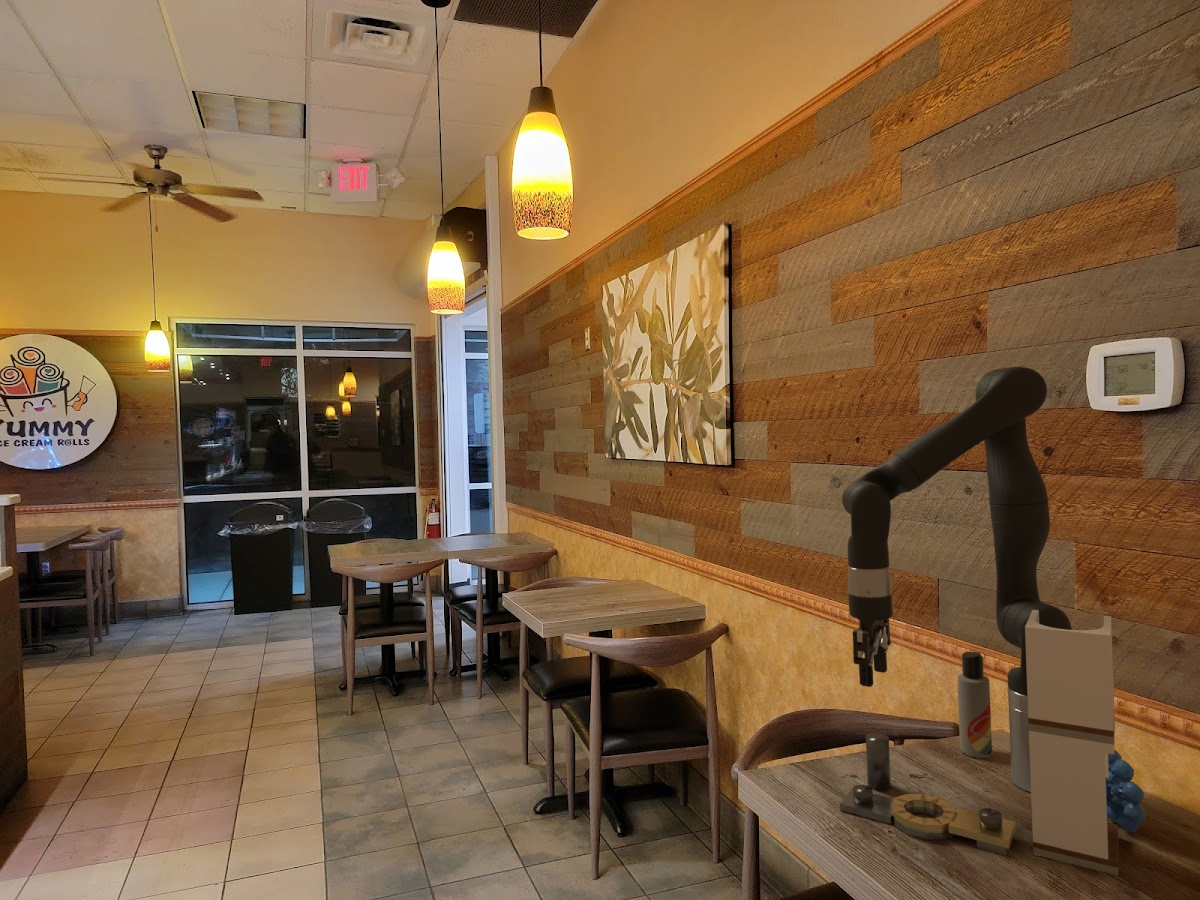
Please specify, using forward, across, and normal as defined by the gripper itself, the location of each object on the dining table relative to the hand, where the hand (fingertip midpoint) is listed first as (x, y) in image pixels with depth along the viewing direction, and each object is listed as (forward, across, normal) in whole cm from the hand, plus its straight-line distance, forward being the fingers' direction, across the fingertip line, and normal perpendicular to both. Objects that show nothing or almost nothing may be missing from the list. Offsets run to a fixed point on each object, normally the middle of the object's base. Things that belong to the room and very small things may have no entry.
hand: (873, 678), depth 136 cm
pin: (+20, 0, 0) cm, 20 cm away
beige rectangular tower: (+20, -4, -31) cm, 37 cm away
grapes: (+20, +6, -35) cm, 41 cm away
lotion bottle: (+20, +23, -12) cm, 33 cm away
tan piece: (+20, -9, -10) cm, 24 cm away
